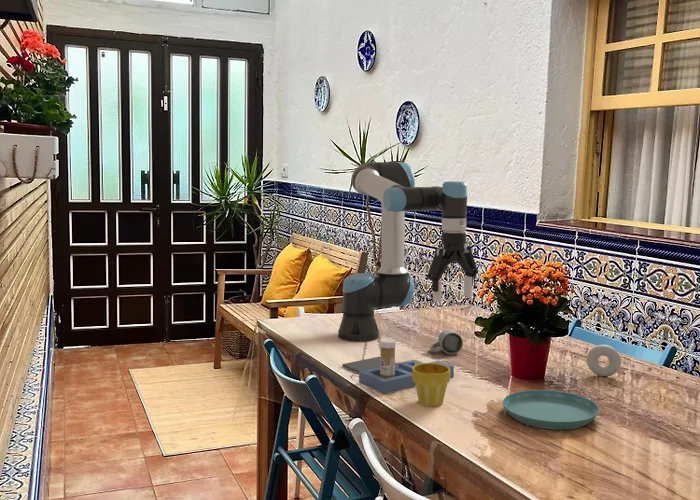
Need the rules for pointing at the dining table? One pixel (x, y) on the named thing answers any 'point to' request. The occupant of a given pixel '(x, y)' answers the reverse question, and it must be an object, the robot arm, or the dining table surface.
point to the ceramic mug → (448, 342)
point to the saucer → (550, 409)
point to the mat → (364, 364)
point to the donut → (603, 351)
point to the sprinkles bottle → (387, 358)
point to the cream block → (424, 360)
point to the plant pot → (431, 382)
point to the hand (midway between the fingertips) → (452, 299)
